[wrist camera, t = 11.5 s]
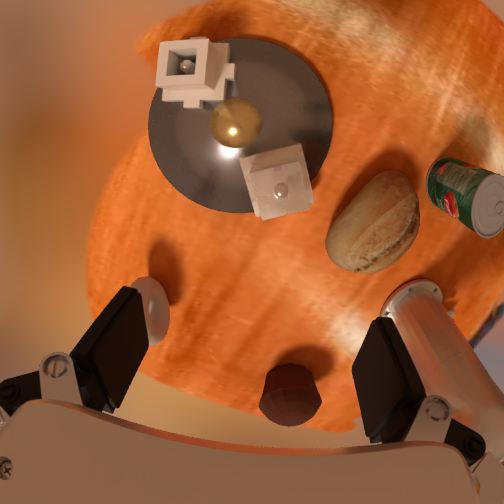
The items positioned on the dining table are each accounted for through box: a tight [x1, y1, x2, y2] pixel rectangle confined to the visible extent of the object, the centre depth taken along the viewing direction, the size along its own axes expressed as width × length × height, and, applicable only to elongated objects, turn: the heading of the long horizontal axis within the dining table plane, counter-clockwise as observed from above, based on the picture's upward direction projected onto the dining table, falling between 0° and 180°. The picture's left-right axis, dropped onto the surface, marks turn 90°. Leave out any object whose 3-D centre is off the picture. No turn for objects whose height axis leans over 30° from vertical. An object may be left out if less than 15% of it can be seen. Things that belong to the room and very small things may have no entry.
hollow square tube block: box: [156, 36, 236, 108], centre depth 23 cm, size 9×9×7 cm
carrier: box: [148, 38, 333, 220], centre depth 26 cm, size 22×22×9 cm
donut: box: [130, 277, 170, 346], centre depth 37 cm, size 10×4×10 cm, turn 9°
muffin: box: [259, 363, 322, 426], centre depth 45 cm, size 12×11×10 cm
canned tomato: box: [426, 157, 504, 238], centre depth 27 cm, size 8×8×11 cm
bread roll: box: [325, 170, 420, 273], centre depth 31 cm, size 10×15×8 cm, turn 147°
